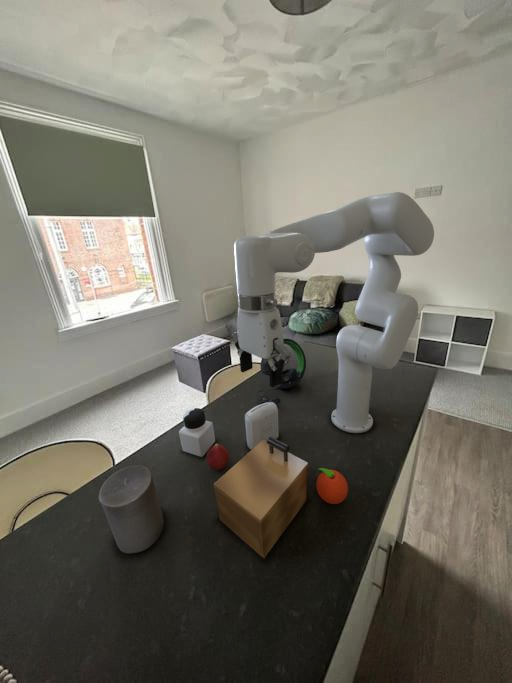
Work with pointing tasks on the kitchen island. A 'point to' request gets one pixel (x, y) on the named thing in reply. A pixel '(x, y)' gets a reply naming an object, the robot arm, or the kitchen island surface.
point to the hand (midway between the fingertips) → (260, 377)
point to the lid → (262, 477)
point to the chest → (272, 526)
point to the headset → (286, 371)
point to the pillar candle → (132, 508)
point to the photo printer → (261, 423)
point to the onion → (217, 457)
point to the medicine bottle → (196, 432)
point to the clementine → (331, 486)
